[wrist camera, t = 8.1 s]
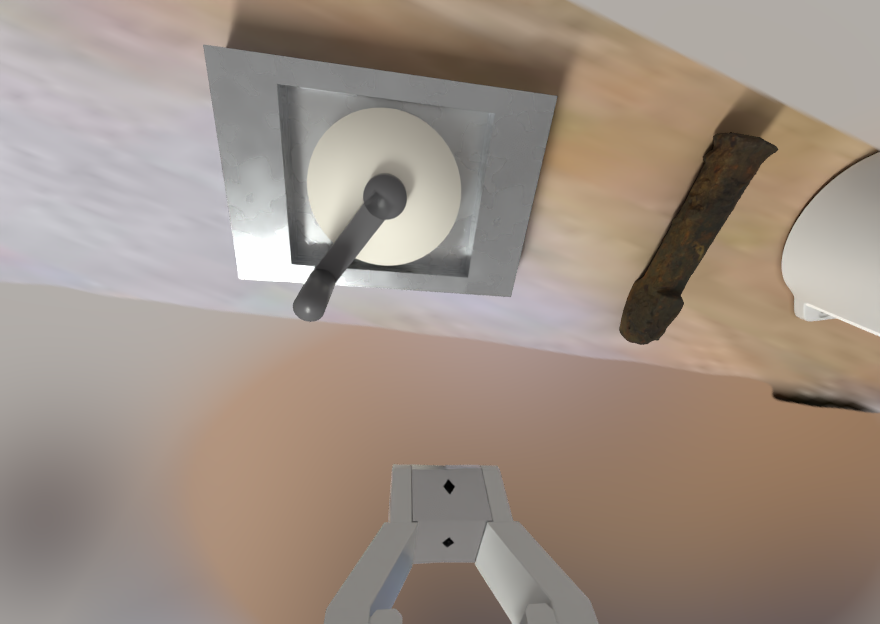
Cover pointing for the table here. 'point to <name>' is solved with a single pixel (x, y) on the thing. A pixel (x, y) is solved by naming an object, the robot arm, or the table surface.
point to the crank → (377, 196)
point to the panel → (337, 95)
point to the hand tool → (692, 234)
